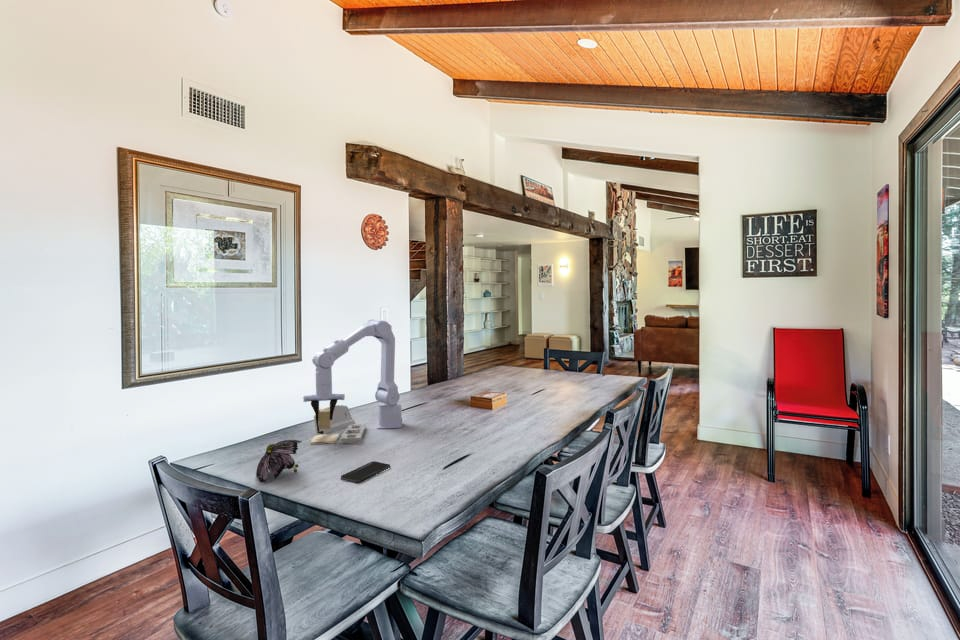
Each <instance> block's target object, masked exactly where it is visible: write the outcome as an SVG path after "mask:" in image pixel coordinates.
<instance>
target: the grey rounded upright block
mask: <svg viewBox="0 0 960 640" xmlns="http://www.w3.org/2000/svg"><path fill="white" fill-rule="evenodd" d="M324 409H330V406H328V407H326V408H324ZM313 421H314V427H315V433H316V432H317V433H319V432H323V434H326V433H327V434H330V433H333V432H336V431H335V430H337V431H339V430H338V429H340V430H343V429H346V428H347V426H348V425H354V424H355V425H356V420H355V419H353V417H352V414H351V412H350V409H349V407H348V406H347V405H343V404H341V405H339V404H338V405H337V404H336V406H335V408H334V412H333V418H332V420H331V427H330V429H319V421H317V417H316V414H314V415H313ZM345 427H346V428H345ZM342 428H343V429H342ZM332 431H333V432H332ZM329 432H330V433H329Z"/></svg>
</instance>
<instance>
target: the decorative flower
mask: <svg viewBox="0 0 960 640" xmlns="http://www.w3.org/2000/svg"><path fill="white" fill-rule="evenodd" d="M302 442H303V441H302V440H297V439H286V440H285V439H284V440H282V441H277V442H276V443H272V444H271V443H270V444H268V446H267V447H266V450H265V453H264V455H262V457H261V458H260V460H259V462H258V463H257V464H258V465H257V467H256V472H255V473H256V474H255V477H256V478H257V479H258V482H259V481H260V483H262V482H264V483H265V482H266V481H267V478H268V473H270V474H271V476H272V477H273V478H274V479H277V478H278V477H280V475H281V474H282V472H284V470H286V469H287V470H291V469H293V473H297V472H298V468H299V464H298V463H296V462H295V460H294V458H293V457H292V455H296V454H297V450H299V448H298V447H299V445H298V443H302ZM295 463H296V464H295Z"/></svg>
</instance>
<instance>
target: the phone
mask: <svg viewBox="0 0 960 640" xmlns="http://www.w3.org/2000/svg"><path fill="white" fill-rule="evenodd" d="M388 468H389V469H391V464H389V463H385V462H380V461H379V462H378V461H370V462H367V463H365V464H363V465H361V466H359V467H357V468H355V469H353V470H350V471H347V472H346V473H344V474H342V475H341V476H340V479H341V480H342V481H345V480H346V482H348V483H349V482H351V483H353V482H354V484H361V482H362V483H363V481H364V482H365V480H366V481H367V479H368V480H369V478H370V479H372V478H373V476H374V477H376V476H377V475H376V474H378V475H379V473H380V472H382V471H384V470H386V469H388ZM389 469H388V470H389ZM386 471H387V470H386ZM384 472H385V471H384ZM382 473H383V472H382ZM380 474H381V473H380ZM375 475H376V476H375ZM371 477H372V478H371Z"/></svg>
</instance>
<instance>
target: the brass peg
mask: <svg viewBox="0 0 960 640" xmlns="http://www.w3.org/2000/svg"><path fill="white" fill-rule="evenodd" d="M318 418H319V429H330V427H331V420H330V409H325V408H321V409H320V408H319V412H318Z"/></svg>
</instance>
